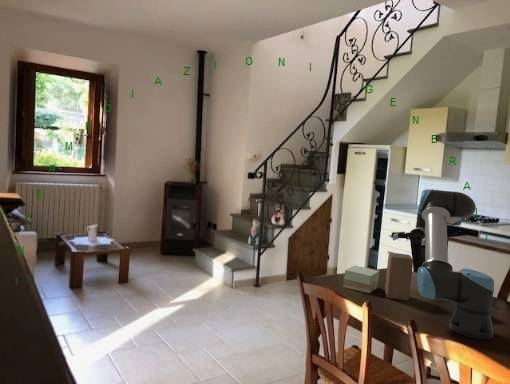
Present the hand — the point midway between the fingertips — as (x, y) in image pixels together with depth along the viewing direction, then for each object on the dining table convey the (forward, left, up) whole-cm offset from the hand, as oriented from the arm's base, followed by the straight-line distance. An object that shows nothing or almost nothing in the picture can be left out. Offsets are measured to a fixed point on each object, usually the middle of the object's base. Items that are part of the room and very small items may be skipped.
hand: (407, 240), depth 202 cm
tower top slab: (-8, +18, -22) cm, 30 cm away
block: (-10, 0, -26) cm, 28 cm away
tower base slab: (-9, +18, -27) cm, 33 cm away
